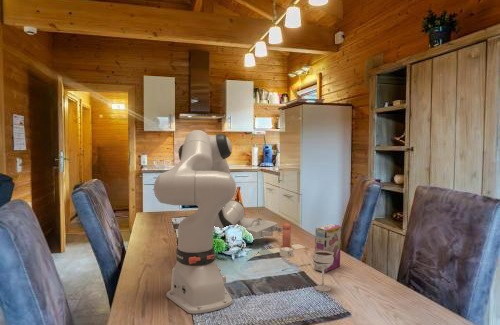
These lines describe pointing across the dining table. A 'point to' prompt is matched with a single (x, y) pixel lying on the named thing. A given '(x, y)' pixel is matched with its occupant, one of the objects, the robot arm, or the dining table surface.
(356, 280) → the dining table surface
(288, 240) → the pawn
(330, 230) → the candy bar box
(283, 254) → the die
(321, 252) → the wineglass
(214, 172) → the robot arm
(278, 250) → the track board
